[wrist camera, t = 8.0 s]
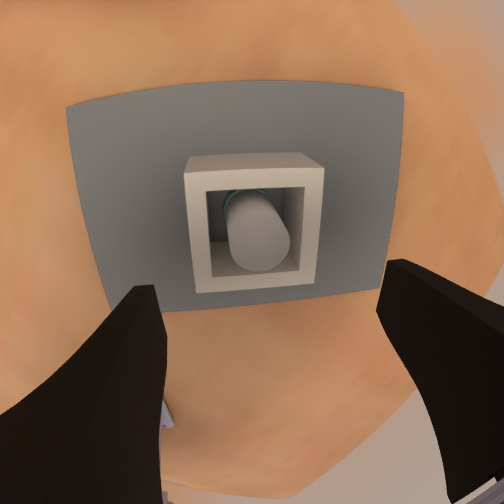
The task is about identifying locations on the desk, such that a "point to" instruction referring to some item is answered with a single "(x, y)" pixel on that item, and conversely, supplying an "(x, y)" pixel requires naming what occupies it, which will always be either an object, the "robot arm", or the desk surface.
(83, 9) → the desk surface
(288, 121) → the shaft board
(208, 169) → the collar
